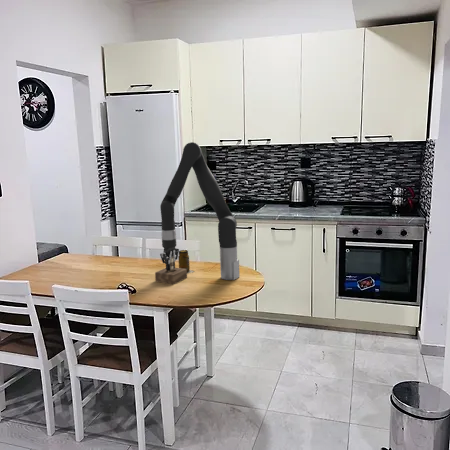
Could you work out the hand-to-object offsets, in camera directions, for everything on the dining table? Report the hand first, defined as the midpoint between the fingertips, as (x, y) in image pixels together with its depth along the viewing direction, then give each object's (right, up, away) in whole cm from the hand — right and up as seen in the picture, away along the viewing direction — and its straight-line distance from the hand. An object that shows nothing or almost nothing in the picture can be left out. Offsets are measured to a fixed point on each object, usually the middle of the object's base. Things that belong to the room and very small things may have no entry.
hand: (170, 269), depth 229 cm
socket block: (0, -6, +1) cm, 6 cm away
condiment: (+6, -3, +15) cm, 17 cm away
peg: (0, -2, 0) cm, 2 cm away
